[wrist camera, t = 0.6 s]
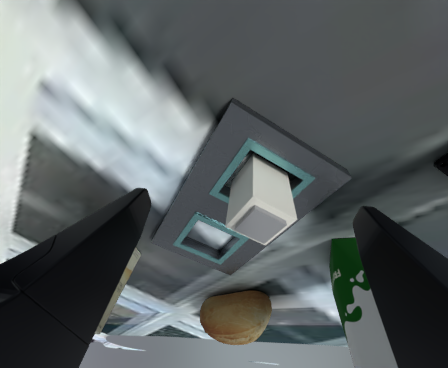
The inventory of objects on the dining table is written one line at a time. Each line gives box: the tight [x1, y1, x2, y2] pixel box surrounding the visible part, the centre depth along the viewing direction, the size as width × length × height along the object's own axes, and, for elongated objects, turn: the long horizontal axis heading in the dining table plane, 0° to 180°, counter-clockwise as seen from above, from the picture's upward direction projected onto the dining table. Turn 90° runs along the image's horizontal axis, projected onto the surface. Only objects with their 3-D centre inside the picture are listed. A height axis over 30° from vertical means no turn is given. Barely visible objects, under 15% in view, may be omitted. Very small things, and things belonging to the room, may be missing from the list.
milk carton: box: [330, 238, 398, 368], centre depth 22 cm, size 9×9×20 cm
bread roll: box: [200, 291, 272, 345], centre depth 39 cm, size 10×15×8 cm, turn 121°
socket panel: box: [151, 98, 352, 275], centre depth 27 cm, size 14×24×2 cm, turn 151°
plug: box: [225, 153, 297, 246], centre depth 21 cm, size 4×4×8 cm
